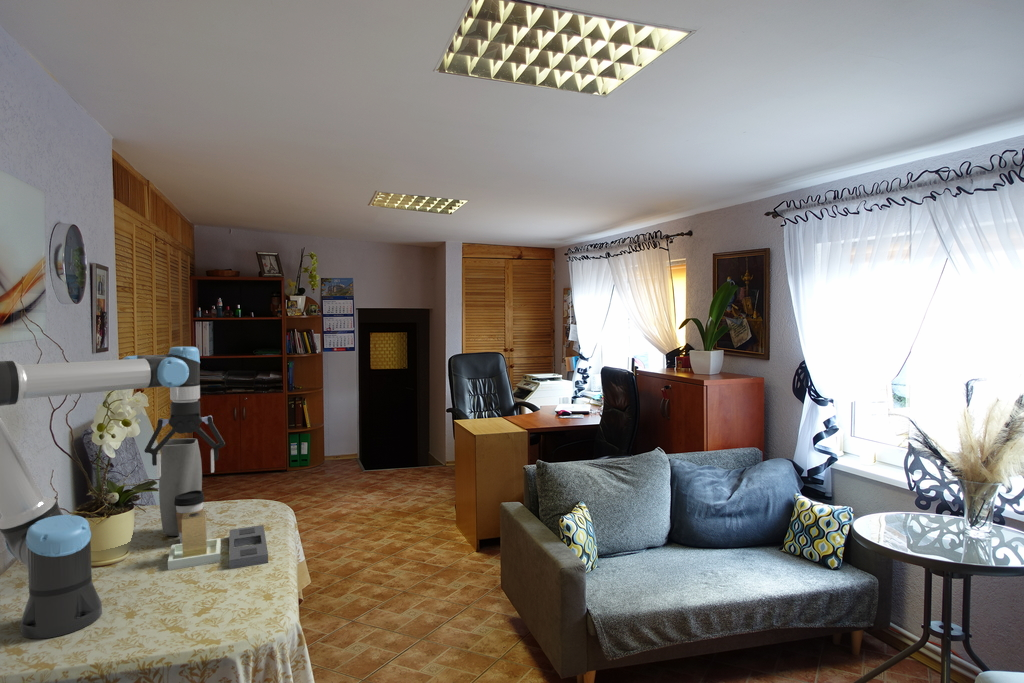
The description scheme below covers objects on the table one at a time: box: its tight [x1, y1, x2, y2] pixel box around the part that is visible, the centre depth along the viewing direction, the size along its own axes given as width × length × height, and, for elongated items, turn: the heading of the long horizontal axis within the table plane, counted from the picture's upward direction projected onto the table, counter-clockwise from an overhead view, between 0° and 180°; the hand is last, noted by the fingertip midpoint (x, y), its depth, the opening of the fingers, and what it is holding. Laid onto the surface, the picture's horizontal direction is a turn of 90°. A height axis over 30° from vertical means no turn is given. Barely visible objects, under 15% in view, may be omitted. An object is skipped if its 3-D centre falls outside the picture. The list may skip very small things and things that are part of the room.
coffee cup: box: [174, 490, 205, 544], centre depth 188 cm, size 8×8×15 cm
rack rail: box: [228, 524, 269, 570], centre depth 182 cm, size 26×10×3 cm, turn 25°
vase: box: [158, 437, 203, 537], centre depth 195 cm, size 12×12×30 cm
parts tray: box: [167, 537, 222, 571], centre depth 176 cm, size 13×13×2 cm
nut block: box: [182, 510, 208, 558], centre depth 176 cm, size 6×6×12 cm
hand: (186, 474), depth 173 cm, fingers open, 13 cm apart
